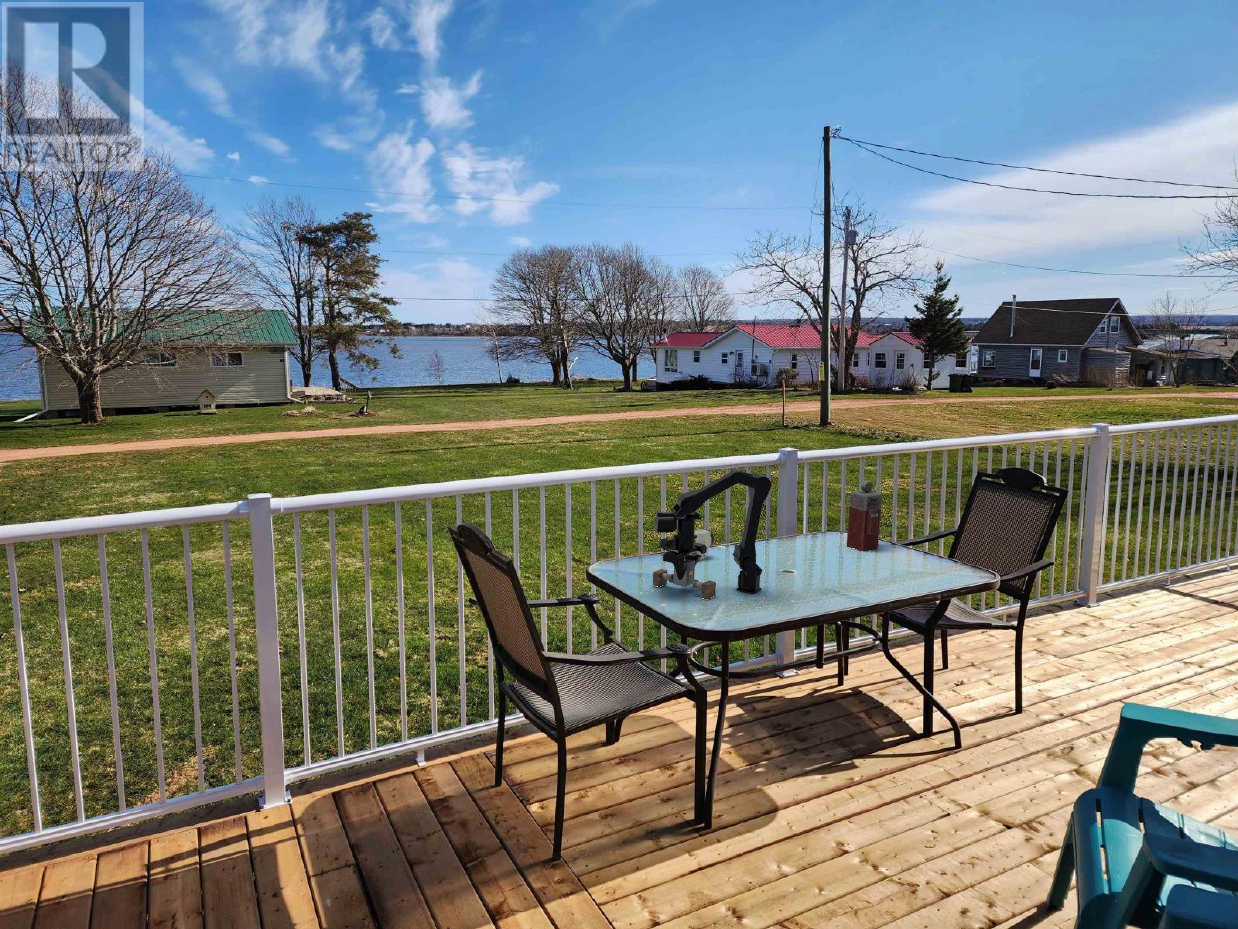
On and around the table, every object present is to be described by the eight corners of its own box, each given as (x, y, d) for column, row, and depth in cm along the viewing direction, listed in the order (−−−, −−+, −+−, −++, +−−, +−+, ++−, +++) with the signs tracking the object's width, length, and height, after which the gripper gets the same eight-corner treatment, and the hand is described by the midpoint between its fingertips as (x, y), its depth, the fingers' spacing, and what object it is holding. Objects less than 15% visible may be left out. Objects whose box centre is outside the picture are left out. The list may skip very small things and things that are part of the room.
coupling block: (695, 583, 256) (696, 560, 255) (687, 587, 252) (688, 563, 251) (680, 580, 260) (681, 557, 259) (672, 583, 256) (672, 560, 255)
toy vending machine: (866, 553, 310) (871, 484, 305) (846, 546, 319) (851, 480, 315) (882, 551, 314) (888, 483, 309) (862, 544, 323) (867, 478, 319)
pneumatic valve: (681, 559, 294) (683, 529, 292) (705, 555, 300) (707, 525, 298) (690, 563, 289) (692, 532, 287) (714, 559, 295) (716, 528, 293)
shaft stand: (715, 596, 252) (716, 581, 251) (707, 600, 248) (708, 585, 247) (660, 582, 265) (661, 568, 264) (652, 586, 261) (653, 572, 260)
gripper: (680, 523, 265) (678, 566, 268) (649, 533, 251) (648, 579, 253) (708, 528, 259) (706, 573, 261) (678, 539, 244) (676, 586, 247)
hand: (684, 577), depth 256 cm, fingers closed on coupling block, 5 cm apart
